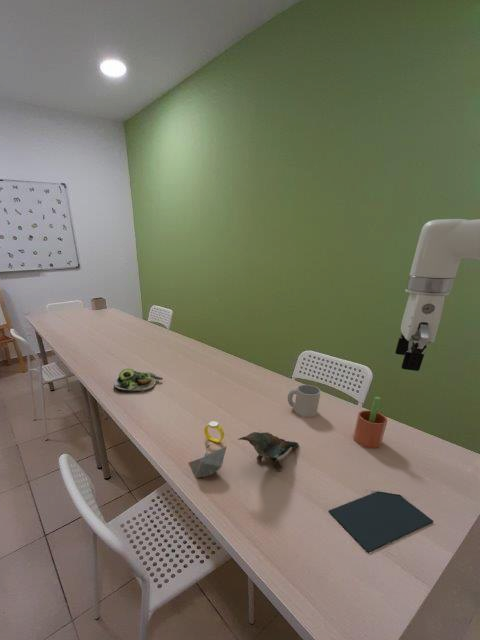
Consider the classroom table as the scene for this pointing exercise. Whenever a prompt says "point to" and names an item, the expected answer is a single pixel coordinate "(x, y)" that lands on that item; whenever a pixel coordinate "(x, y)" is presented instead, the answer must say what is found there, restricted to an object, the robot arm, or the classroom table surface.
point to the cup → (305, 400)
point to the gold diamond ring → (214, 425)
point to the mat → (379, 519)
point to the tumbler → (369, 430)
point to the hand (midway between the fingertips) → (406, 361)
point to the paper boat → (208, 463)
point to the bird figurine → (269, 446)
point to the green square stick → (374, 409)
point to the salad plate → (135, 381)
